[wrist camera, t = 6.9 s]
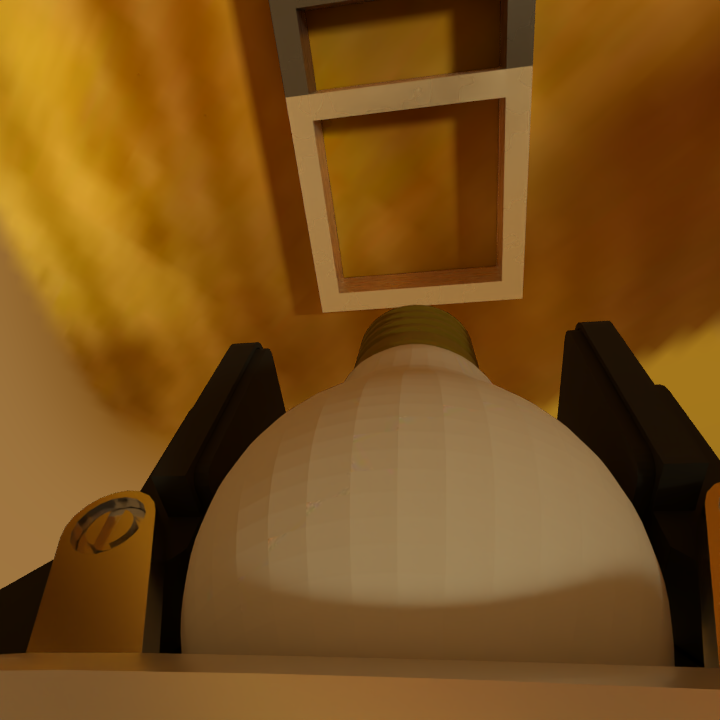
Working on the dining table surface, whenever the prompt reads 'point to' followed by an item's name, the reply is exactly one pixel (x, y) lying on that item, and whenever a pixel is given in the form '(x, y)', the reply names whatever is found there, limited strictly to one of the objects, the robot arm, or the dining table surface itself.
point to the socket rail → (314, 106)
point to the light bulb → (424, 525)
